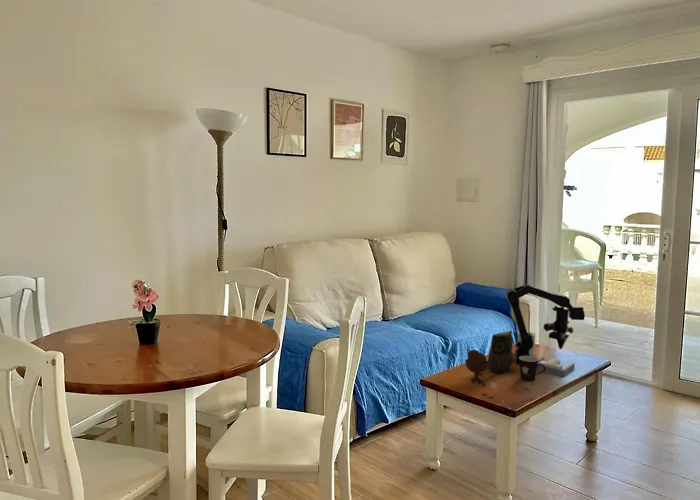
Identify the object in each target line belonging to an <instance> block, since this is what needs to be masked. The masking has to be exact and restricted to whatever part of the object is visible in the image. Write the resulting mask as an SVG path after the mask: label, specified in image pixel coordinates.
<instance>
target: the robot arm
mask: <svg viewBox="0 0 700 500" xmlns="http://www.w3.org/2000/svg"><path fill="white" fill-rule="evenodd" d="M504 294H505V297H506V299H507V301H508V302H509V305H510V307H511V311H512V313H513V316H514V319H515V323H516V326H517V327H516V328H517V329H518V332H519V340H520V341H519V342H518V341H517V343H515V344H514V345H515V349H514V351H515V352H514V358H513V361H514V362H515V363H516V364H517V365H520V364H519V357H520V356H530V354H529V350H530V349H531V348H532V347H533V343H534V341H533V340H532V335H531V333H530V332H531V331H527V327H526V323H525V321H524V316H523V314H522V310H521V308H520V298H522V297H524V296H525V295H528V294H531V295H534V296H535V297H539V298H542V299H545V300H547V301H550V302H552V303H554V304H555V306H553V307H552V308H551V309H552V311H554V312H556V313H555V320H554V321H553V322H549V323H548V322H547V323H544V324H543V328H542V329H543V330H545V332H548V331H551V332H549V334H548V338H550V339H552V340H553V339H554V340H556V342H557V346H558V349H559V350H562V349H563V348H564V346H565V343H566V342H567V341H568V339H569V337H570V335H569V334H573V333H574V328H573V327H572V326H569V325H568V324H569V323H570V321H569V319H570V320H572V321H573V320H574V321H584V320H585V316H586V315H585V310H584V307H583V306H573V305H572V303H571V300H570V298H569V297H568V296H567V295H565V294H563V293H555V292H550V291H547V290H544V289H542V288H539V287H535V286H532V285H531V284H528V283H527V284H524V285H521V286H518V287H514V288H508V289H507V290H506V291H505V293H504ZM527 332H529V333H527ZM567 333H569V334H567Z"/></svg>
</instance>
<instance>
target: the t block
mask: <svg viewBox="0 0 700 500" xmlns="http://www.w3.org/2000/svg"><path fill="white" fill-rule="evenodd" d="M539 364H543V365H544V366H547V367H552V368H556V369H561V370H563V364H561V360H559V359H557V358H556V359H555V358H551V359H550V360H549V361H546V360H544V361H541V362H539Z"/></svg>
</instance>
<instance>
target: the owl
mask: <svg viewBox="0 0 700 500" xmlns="http://www.w3.org/2000/svg"><path fill="white" fill-rule="evenodd" d="M512 332H513V331H512V330H509V331H504V332H503V331H502V332H498V333H496V334H493V335H492V337H491V342H490V343H491V345H490V348H489V351H488V352H489V353H488V358H487V361H488V363H489V365H488V368H487V369H489V371H490V373H491V374H493V375H503V374H507V373H510V372H511V370H512V369H511V367H512V365H513V361H514V360H513V359H514V353H513V347H514V346H513V345H514V338H513V334H512Z"/></svg>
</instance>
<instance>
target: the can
mask: <svg viewBox="0 0 700 500" xmlns="http://www.w3.org/2000/svg"><path fill="white" fill-rule="evenodd" d="M529 332H530V333H531V335H532V340H533V341H534V343H533V347H532V348H531V349H530V350H529V354H530V356H532V357H535V345H536V344H535V343H536V333H534V332H531V331H527V333H529ZM519 341H520V340H519V331H518V332H517V343H518V342H519Z"/></svg>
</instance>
